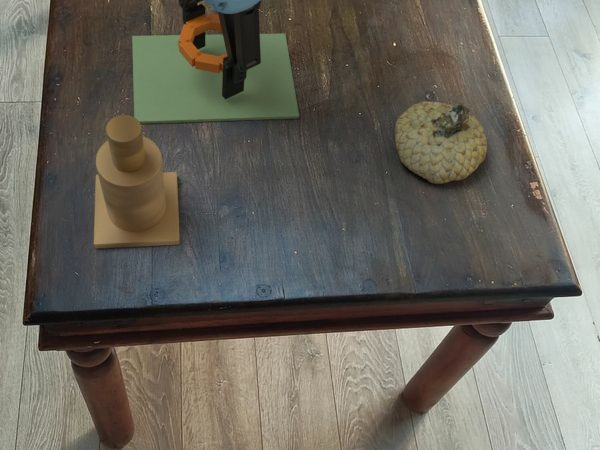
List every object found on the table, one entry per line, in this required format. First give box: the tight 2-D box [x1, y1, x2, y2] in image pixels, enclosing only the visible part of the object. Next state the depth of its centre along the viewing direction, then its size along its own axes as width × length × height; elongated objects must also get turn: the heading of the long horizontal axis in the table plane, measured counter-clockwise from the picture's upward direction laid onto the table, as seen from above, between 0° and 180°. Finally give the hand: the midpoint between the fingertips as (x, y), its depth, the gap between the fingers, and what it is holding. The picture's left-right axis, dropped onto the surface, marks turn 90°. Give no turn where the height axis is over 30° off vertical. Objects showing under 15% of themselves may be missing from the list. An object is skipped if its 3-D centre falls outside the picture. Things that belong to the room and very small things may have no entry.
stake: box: [93, 114, 181, 249], centre depth 72 cm, size 9×9×15 cm
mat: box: [131, 33, 300, 125], centre depth 89 cm, size 20×14×1 cm
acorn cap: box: [394, 100, 488, 185], centre depth 86 cm, size 10×11×10 cm
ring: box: [178, 12, 227, 73], centre depth 84 cm, size 8×8×1 cm
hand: (213, 70), depth 88 cm, fingers closed on ring, 8 cm apart
